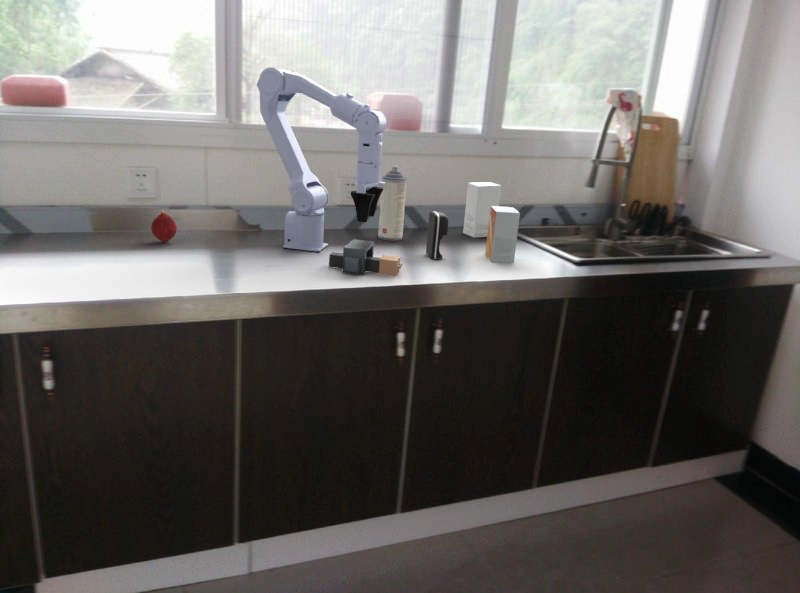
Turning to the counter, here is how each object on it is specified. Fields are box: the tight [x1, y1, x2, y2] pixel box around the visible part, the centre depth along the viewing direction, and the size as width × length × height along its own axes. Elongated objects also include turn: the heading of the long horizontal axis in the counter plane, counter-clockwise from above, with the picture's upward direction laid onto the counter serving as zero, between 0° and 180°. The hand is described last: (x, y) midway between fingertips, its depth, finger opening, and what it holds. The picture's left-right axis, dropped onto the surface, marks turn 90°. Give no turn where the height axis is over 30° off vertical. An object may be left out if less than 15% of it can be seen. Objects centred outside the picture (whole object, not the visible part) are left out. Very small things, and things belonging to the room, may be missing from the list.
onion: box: [150, 209, 178, 244], centre depth 157 cm, size 6×6×8 cm
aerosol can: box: [377, 165, 407, 242], centre depth 178 cm, size 7×7×20 cm
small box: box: [484, 205, 521, 264], centre depth 166 cm, size 8×6×13 cm
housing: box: [341, 238, 375, 276], centre depth 146 cm, size 5×11×6 cm, turn 169°
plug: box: [328, 251, 404, 277], centre depth 147 cm, size 17×4×4 cm, turn 79°
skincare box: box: [462, 181, 502, 238], centre depth 191 cm, size 8×7×16 cm
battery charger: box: [425, 210, 449, 260], centre depth 163 cm, size 7×4×11 cm, turn 11°
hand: (366, 218), depth 157 cm, fingers open, 7 cm apart
